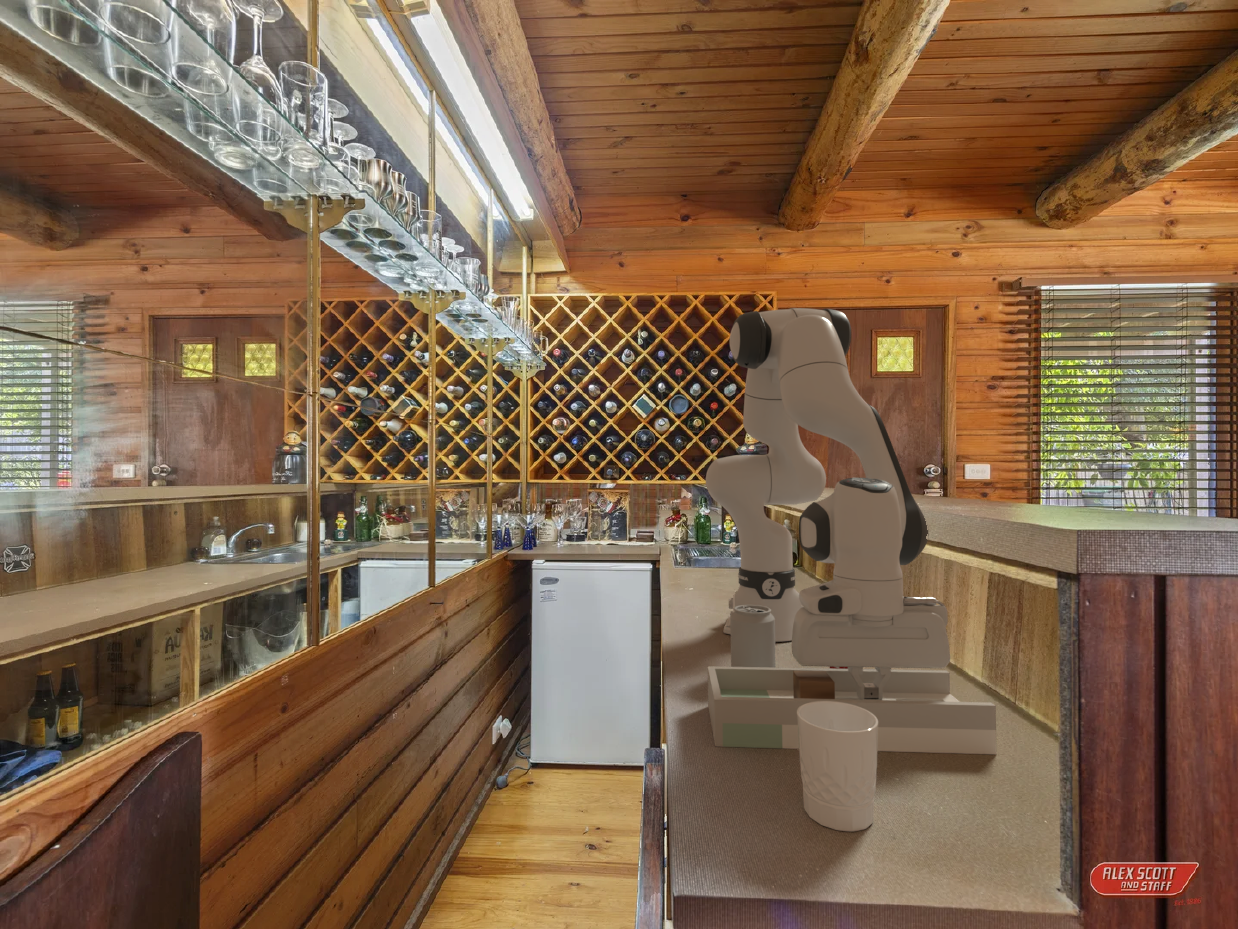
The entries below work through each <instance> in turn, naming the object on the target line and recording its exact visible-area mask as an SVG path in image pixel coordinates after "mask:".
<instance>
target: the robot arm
mask: <svg viewBox="0 0 1238 929" xmlns="http://www.w3.org/2000/svg"><path fill="white" fill-rule="evenodd" d="M851 342H852V327H851V323H850V320H849V319H848V317H847V316H846V314H845V313H844V312H842V311H839V310H836V309H831V308H823V309H816V308H803V307H798V308H797V307H790V308H787V309H786V308H785V309H773V310H765V311H760V312H759V311H757V310H754V311H749V312H745V313H743V314H740V315H739V316H738V317H737V318H736V319H735V320H734V321H733V325H732V327H731V331H730V336H729V349H730V353H731V356H732V358H733V361H734V362H735V363H736V364H737V365H738V366H739V367H741V368H742V367H743V368H746V369H747V371H746V372H747V373H746V378H745V388H744V404H743V415H742V416H743V418H742V419H743V420H742V425H743V428H744V430H745V432H746V434H748V435H749V437H751V438H753V439H755V440H756V441H758V442H760V443H763V444H764V445H767V446H768V453H766V454H736V455H730V456H725V457H720V458H715V459H714V460H713V461H712V462H711V464H710V465H709V467H708V468H707V471H706V475H705V486H706V489H707V492H708V494H709V495H710V497H711V498H712V499H713V501H715V502H716V503H717V504H719V505H720V506H721V507H723V508H724V509H725V510H726V512H727V513H728V514H729V516H730V517H731V518H732V520H733V522H734V525H735V527H736V529H737V534H738V539H739V540H738V541H739V552H740V566H739V568H738V574H737V577H738V584H739V586H738V589H737V590H736V591H735V592H734V594H733V595H732V597H730V598H729V599H728V609H730V610H732V611H730V613H729V615H728V618H727V619H726V622H725V625H724V626H723V633H724V634H728V635H731V620H730V616H731V615H732V614H733V613H734V612H735V610H734V608H735V607H736V606H739V605H760V606H765V607H768V608H770V609H771V611H770V613H771V614H772V615H773V617H774V618H775V643H777V642H790V641H791V654H792V657H793V658H794V659H795V660H796V662H797V663H798V664H799V665H800V666H802V667H825V668H826V667H828V668H830V667H848V671H849V673H850V674H851V676H852V678H853V679H854V681H855V682H856V689H857V696H858V698H859V699H872V700H882V698H883V689H882V687H884V686H885V684H886V683H887V681H888V679H889V678H890V676H891V670H892V668H894V669H900V668H901V669H902V668H903V669H945V668H947V666H948V665H949V663H950V662H951V651H950V650H951V649H950V642H949V637H948V633H947V632H948V631H947V628H946V627H947V626H948V621H949V620H948V619H949V618H948V616H949V615H948V608H947V606H946V605H945V603H943V602H941V601H940V600H937V599H936V597H933V596H925V597H917V596H904V579H903V578H904V573H903V570H902V568H901V566H907V565H910V564H911V562H913V561H914V560H916V559H917V558H918V557H919V556H920V554H921V553H922V552H923V550H924V549H925V547H926V546H927V544H928V541H929V539H928V540H927V539H926V536H927V534H928V535H929V529H928V530H927V526H928V524H927V525H926V522H927V520H926V518H924V517H925V515H924V514H923V511H922V510H921V508H920V507H919V505H918V502H916V500H915V498H914V497H913V496H914V495H913V494H912V492H911V490H910V488H909V485H908V482H907V480H906V478H905V475H904V472H903V469H902V467H901V464H900V462H899V459H898V456H897V454H896V452H895V449H894V446H893V444H892V441H891V439H890V438H891V437H890V436H889V434H888V431H887V428H886V426H885V424H884V421H883V420H882V417H881V416H880V414H879V411H878V410H877V409H876V408H875V407H874V406H872V405H870V404H869V403H867V402H866V401H865V400H864V398H863V397H862V396H861V395H860V394H859V392H858V390H857V388H856V386H854V384H853V381H852V378H851V376H850V371H849V367H848V364H847V363H848V362H847V358H846V356H847V354H848V352H849V349H850V347H851ZM799 427H801V428H802V429H804V430H806V431H808V432H811V433H815V434H818V435H821V436H824V437H826V438H829V439H832V440H835V441H836V442H839V443H841V444H843V445H844V446H846V447H847V448H849V449H851V450H852V451H853V452H854V453H855V455H856V456H857V457H858V459H859V461H860V464H861V467H862V469H863V472H864V474H865V477H848V478H844V479H841V480H839V481H837V482H836V484H835V486H834V490H833V492H832V493H831V494H830V495H828V496H827V497H825V498H823V499H821V500H818V499H819V498H820V497H821V496H822V495H823V493H824V491H825V488H826V484H827V475H826V471H825V468H824V466H823V465H822V463H821V462H820V461H819V460H818V459H817V458H816V457H815V456H814V455H812V454H811V453H810V452H809V451H808V449H806V447H805V446H804V443H803V442H802V439H801V437H800V433H799V432H800V431H799ZM817 500H818V501H817ZM813 501H814V502H813ZM809 502H811V504H809V505H808V506H807V507H806V508H805V509H804V510H803V512H802V513H801V514H800V516H799V518H798V519H799V520H798V536H799V537H798V538H799V539H798V540H799V545H800V547H801V549H802V550H803V552H805V553H806V554H807V555H808V556H809V557H810V558H811V559H813V560H814V561H816V562H820V563H824V564H834V568H833V574H832V576H833V579H831V580H829V581H826V582H823V583H819V584H816V585H814V586H810V587H807V588H806V587H805V588H804V589H802V590H800V591H799V592H798V591H797V589H796V588H795V586H796V579H797V578H796V577H797V576H796V571H795V569H794V566H793V563H794V559H793V536H792V533H791V532H790V530H789V529H788V528H787V527H786V526H784V525H782V524H781V523H779V522H777V521H775V520H773V519H771V518H769V517H767V515H766V513H765V506H770V505H773V506H774V505H775V506H776V505H781V506H782V505H784V506H785V505H791V506H792V505H800V504H804V503H809ZM925 520H926V521H925ZM864 668H874V669H876V670H877V671H878V674H877V676H876V678H875V680H874V682H873V683H863V682H862V680H861V679H860V677H859V675H862V674H863V669H864ZM858 674H859V675H858Z"/></svg>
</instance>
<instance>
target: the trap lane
mask: <svg viewBox="0 0 1238 929" xmlns="http://www.w3.org/2000/svg"><path fill="white" fill-rule="evenodd" d="M793 671H826V672H827V673H828V675H829V676H830V677H831V679H832V680H833V681H834V682H835V699H805V698H794V695H793ZM877 674H878V671H877V670H876V669H875V668H873V669H872V668H863V674H862V675H859V674H858V675H859V677H860V679H861V680H862V682H863V683H873V682H874V680H875V678H876V676H877ZM950 678H951V676H950V672H949V671H948V670H938V669H937V670H934V669H932V670H931V669H891V676H890V678H889V679H888V681H887V683H886V684H885V686H884V687H882V689H883V698H882V700H872V699H859V698H858V696H857V689H856V682H855V681H854V679H853V678H852V676H851V674H850V673H849V671H848V669H830V667H828V668H826V667H824V668H822V667H819V668H816V667H815V668H814V667H776V668H771V667H731V666H707V704H708V712H709V713H708V714H709V718H710V724H711V730H712V737H713V744H714V747H719V748H720V747H724V748H725V747H727V748H755V749H756V748H760V749H762V748H763V749H791V750H793V749H796V750H799V739H798V722H797V709H798V708H799V707H800V706H801V705H803V704H806V703H810V702H816V701H834V702H842V703H847V704H851V705H855V706H858V707H861V708H863V709H865V710H867V711H869V712H871V713H872V714H873V715H875V716H876V718H877V719H878V744H877V752H897V753H898V752H900V753H901V752H903V753H934V754H935V753H937V754H938V753H939V754H967V755H970V754H971V755H973V754H974V755H997V754H998V753H997V749H998V748H997V745H998V744H997V708H996V706H997V705H995V704H994V703H993V702H991V701H990V702H985V701H984V702H983V701H981V702H980V701H960V700H959V699H957V698H956V697H955V696H953V695H952V694H951V685H950V684H951V681H950V680H951V679H950Z"/></svg>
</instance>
